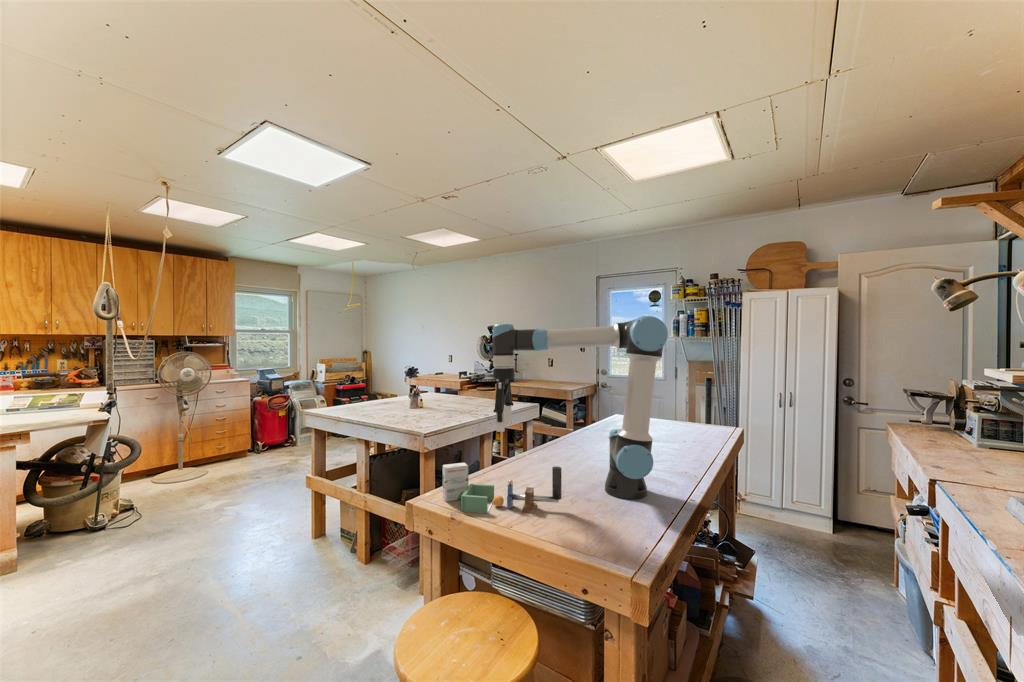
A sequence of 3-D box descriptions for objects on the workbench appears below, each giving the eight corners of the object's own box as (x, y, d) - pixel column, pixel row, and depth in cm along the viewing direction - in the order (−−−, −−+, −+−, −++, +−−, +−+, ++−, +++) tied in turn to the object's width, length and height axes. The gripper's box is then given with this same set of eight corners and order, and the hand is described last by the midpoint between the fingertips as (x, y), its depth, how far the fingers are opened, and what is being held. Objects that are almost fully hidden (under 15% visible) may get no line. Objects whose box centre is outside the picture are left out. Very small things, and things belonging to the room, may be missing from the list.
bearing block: (536, 504, 134) (536, 486, 134) (534, 513, 127) (534, 494, 127) (524, 503, 135) (524, 485, 135) (522, 512, 128) (522, 493, 128)
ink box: (465, 493, 144) (465, 461, 144) (468, 498, 140) (469, 465, 140) (442, 497, 141) (442, 464, 141) (445, 502, 136) (445, 468, 137)
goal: (495, 499, 139) (495, 484, 139) (487, 513, 127) (487, 497, 127) (470, 497, 140) (470, 483, 140) (461, 511, 129) (461, 496, 129)
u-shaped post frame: (561, 507, 131) (561, 466, 131) (561, 511, 128) (561, 469, 128) (508, 504, 134) (508, 464, 134) (507, 508, 131) (507, 466, 131)
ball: (504, 504, 134) (504, 494, 134) (502, 508, 131) (502, 498, 131) (494, 503, 135) (494, 493, 135) (492, 508, 131) (492, 497, 131)
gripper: (500, 365, 152) (501, 420, 152) (484, 369, 127) (485, 434, 127) (519, 365, 151) (520, 420, 150) (507, 369, 126) (508, 435, 126)
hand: (504, 427), depth 139 cm, fingers open, 13 cm apart
